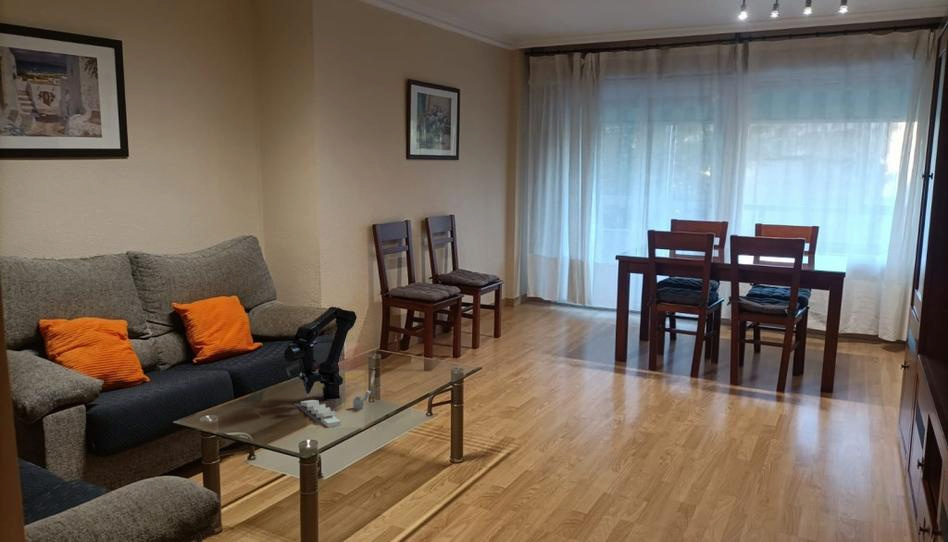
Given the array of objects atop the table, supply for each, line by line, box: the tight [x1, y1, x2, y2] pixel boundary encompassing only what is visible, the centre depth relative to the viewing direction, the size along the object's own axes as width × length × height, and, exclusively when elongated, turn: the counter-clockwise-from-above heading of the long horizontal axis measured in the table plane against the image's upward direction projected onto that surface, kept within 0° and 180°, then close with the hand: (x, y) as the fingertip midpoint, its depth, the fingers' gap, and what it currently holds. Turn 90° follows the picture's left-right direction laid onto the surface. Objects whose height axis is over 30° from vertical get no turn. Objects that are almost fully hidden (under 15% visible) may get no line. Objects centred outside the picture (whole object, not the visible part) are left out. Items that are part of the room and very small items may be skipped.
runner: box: [294, 402, 324, 425], centre depth 284 cm, size 30×8×1 cm, turn 33°
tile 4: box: [321, 415, 342, 428], centre depth 271 cm, size 2×5×8 cm
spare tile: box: [300, 399, 320, 407], centre depth 290 cm, size 2×5×8 cm
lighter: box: [352, 389, 372, 410], centre depth 289 cm, size 7×2×8 cm, turn 82°
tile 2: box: [311, 407, 331, 414], centre depth 280 cm, size 2×5×8 cm
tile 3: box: [316, 410, 336, 418], centre depth 275 cm, size 2×5×8 cm
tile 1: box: [307, 403, 327, 411], centre depth 284 cm, size 2×5×8 cm
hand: (307, 393), depth 292 cm, fingers closed
